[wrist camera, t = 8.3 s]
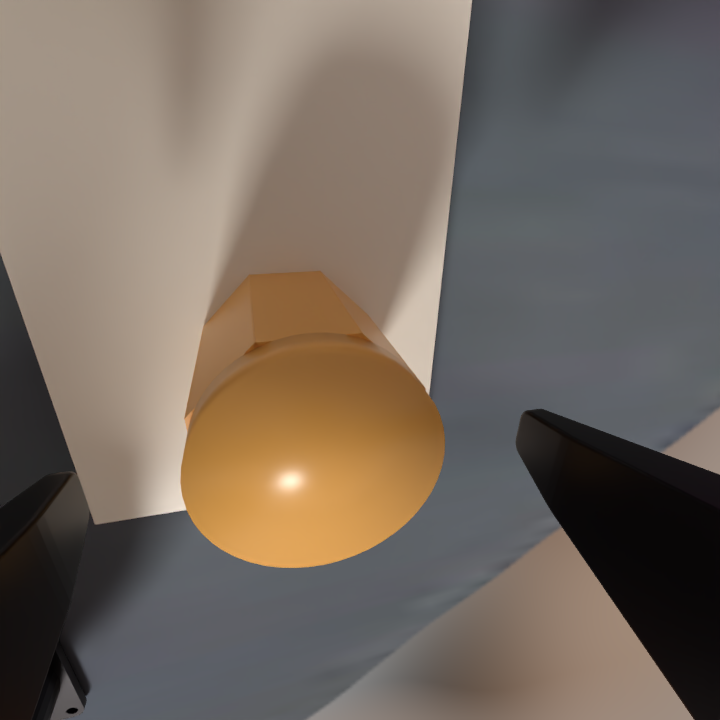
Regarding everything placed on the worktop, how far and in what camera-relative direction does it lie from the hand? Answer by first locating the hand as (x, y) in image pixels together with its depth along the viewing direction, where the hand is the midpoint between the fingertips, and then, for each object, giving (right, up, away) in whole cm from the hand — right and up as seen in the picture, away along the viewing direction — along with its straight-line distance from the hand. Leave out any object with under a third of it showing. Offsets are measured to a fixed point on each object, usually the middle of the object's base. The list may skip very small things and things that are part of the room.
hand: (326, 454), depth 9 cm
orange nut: (-2, +2, +5) cm, 6 cm away
